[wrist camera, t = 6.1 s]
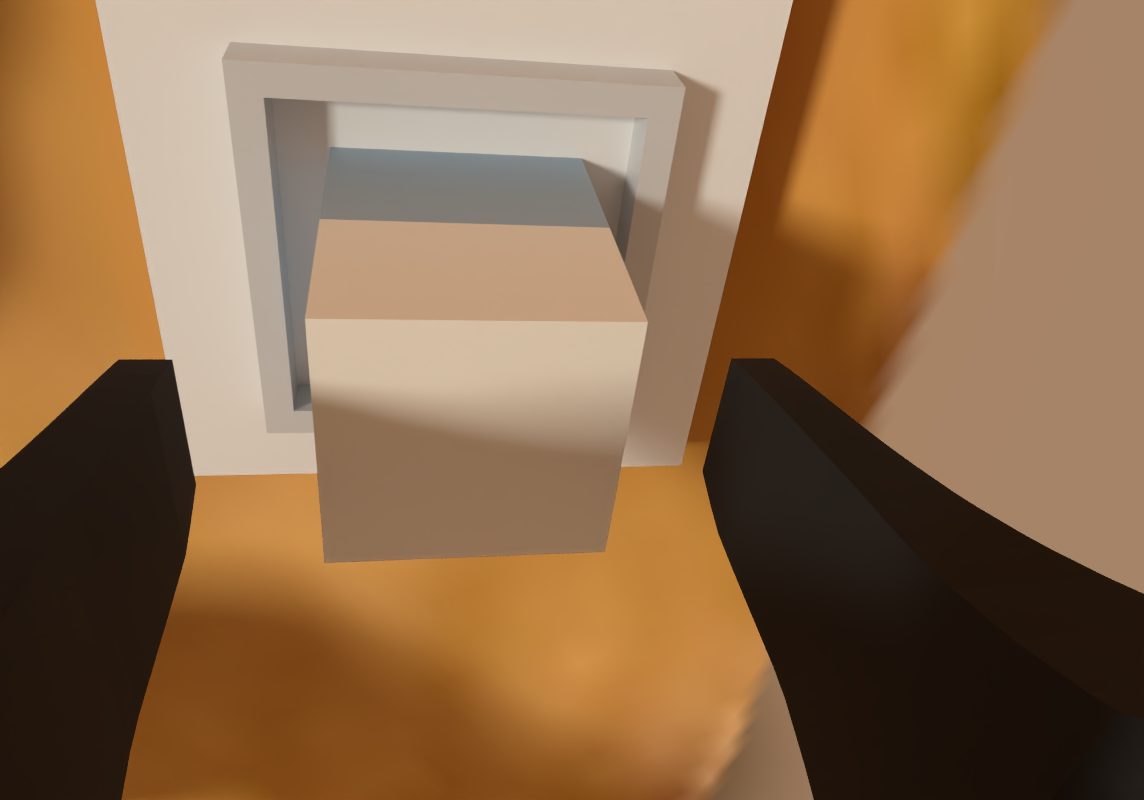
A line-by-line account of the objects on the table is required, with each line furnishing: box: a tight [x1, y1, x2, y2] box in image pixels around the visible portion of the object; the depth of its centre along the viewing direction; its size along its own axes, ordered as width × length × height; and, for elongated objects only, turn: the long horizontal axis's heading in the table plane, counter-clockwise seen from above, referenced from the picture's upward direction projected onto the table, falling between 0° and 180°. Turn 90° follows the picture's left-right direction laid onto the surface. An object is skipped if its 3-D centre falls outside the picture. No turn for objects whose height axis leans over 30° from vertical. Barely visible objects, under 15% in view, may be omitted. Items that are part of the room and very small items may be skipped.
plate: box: [96, 0, 793, 476], centre depth 16 cm, size 10×10×2 cm
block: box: [305, 147, 648, 563], centre depth 14 cm, size 4×4×5 cm
